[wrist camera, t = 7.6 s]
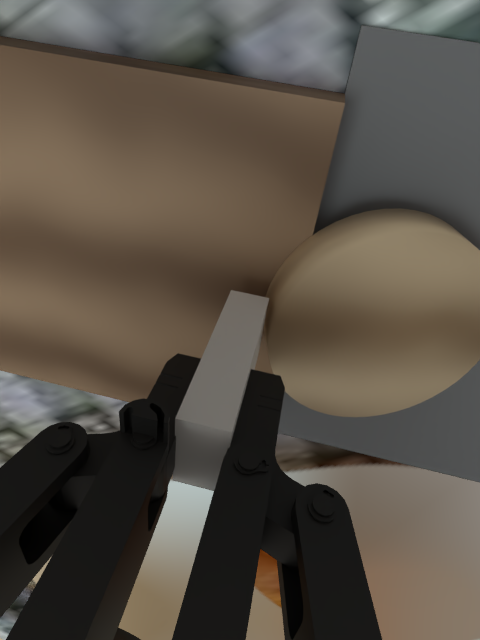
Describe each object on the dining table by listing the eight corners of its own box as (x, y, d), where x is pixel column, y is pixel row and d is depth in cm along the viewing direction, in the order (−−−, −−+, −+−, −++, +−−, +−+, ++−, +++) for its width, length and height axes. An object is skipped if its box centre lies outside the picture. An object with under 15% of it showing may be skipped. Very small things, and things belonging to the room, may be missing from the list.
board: (270, 401, 24) (263, 435, 22) (16, 341, 26) (-12, 367, 24) (344, 93, 15) (345, 103, 13) (-62, 25, 16) (-119, 24, 14)
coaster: (430, 385, 21) (450, 416, 19) (252, 385, 20) (257, 418, 18) (515, 213, 15) (551, 237, 14) (276, 202, 14) (286, 226, 13)
